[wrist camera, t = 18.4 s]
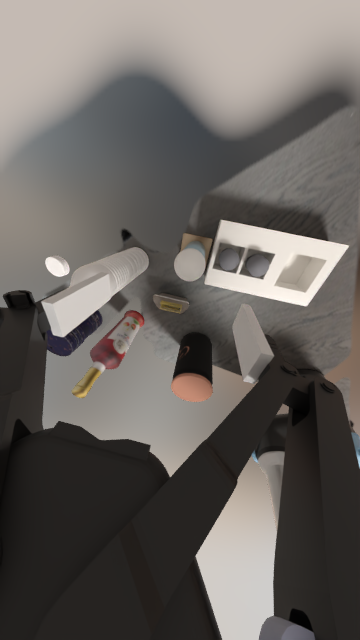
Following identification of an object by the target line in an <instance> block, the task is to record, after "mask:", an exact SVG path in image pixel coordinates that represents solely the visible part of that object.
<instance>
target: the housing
mask: <svg viewBox="0 0 360 640" xmlns="http://www.w3.org/2000/svg"><path fill="white" fill-rule="evenodd" d="M348 247H349V246H348V245H343V244H338V243H333V242H328V241H323V240H319V239H314V238H309V237H304V236H299V235H294V234H289V233H284V232H279V231H274V230H270V229H265V228H260V227H255V226H250V225H245V224H240V223H235V222H230V221H225V220H220V221H219V225H218V229H217V233H216V236H215V240H214V244H213V248H212V252H211V256H210V259H209V263H208V267H207V271H206V275H205V283H204V284H207V285H212V286H216V287H221V288H225V289H230V290H234V291H239V292H243V293H248V294H252V295H257V296H261V297H266V298H270V299H275V300H279V301H284V302H289V303H293V304H298V305H302V306H307V305H308V304H309V302H310V301H311V300H312V298H313V297H314V295H315V294H316V292H317V291H318V290H319V288H320V287H321V285H322V284H323V282H324V281H325V280H326V278H327V277H328V275H329V274H330V272H331V271H332V270H333V268H334V267H335V265H336V264H337V262H338V261H339V260H340V258H341V257H342V255H343V254H344V252H345V251H346V250H347V248H348ZM226 248H232V249H234V250H235V251H236V253H237V254H238V256H239V263H238V265H237V267H236V268H234V269H233V270H224V269H223V268H222V267H221V266H220V262H219V255H220V253H221V251H223V250H224V249H226ZM253 254H260V255H262V256H263V257H265V258H266V259H267V260H268V261H269V269H268V271H267V272H266V273H265V274H264V275H262V276H259V277H255V276H252V275H251V274H250V273H249V271H248V270H247V268H246V261H247V259H248V258H249V257H250V256H251V255H253Z"/></svg>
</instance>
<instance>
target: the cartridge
mask: <svg viewBox="0 0 360 640" xmlns="http://www.w3.org/2000/svg"><path fill="white" fill-rule="evenodd" d="M174 268H175V272H176V274H177V275H178V276H179V277H180V278H181V279H183V280H185V281H195V280H197V279H199V278H200V277H201V276H202V275H203V273H204V270H205V247H204V245H203V244H202V243H201V242H199V241H192V242H190V243H189V244H188V245H187V246H186V247H185V248H184V250H182V251H181V252H180V253H179V254H178V255H177V257H176V259H175V262H174Z"/></svg>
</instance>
